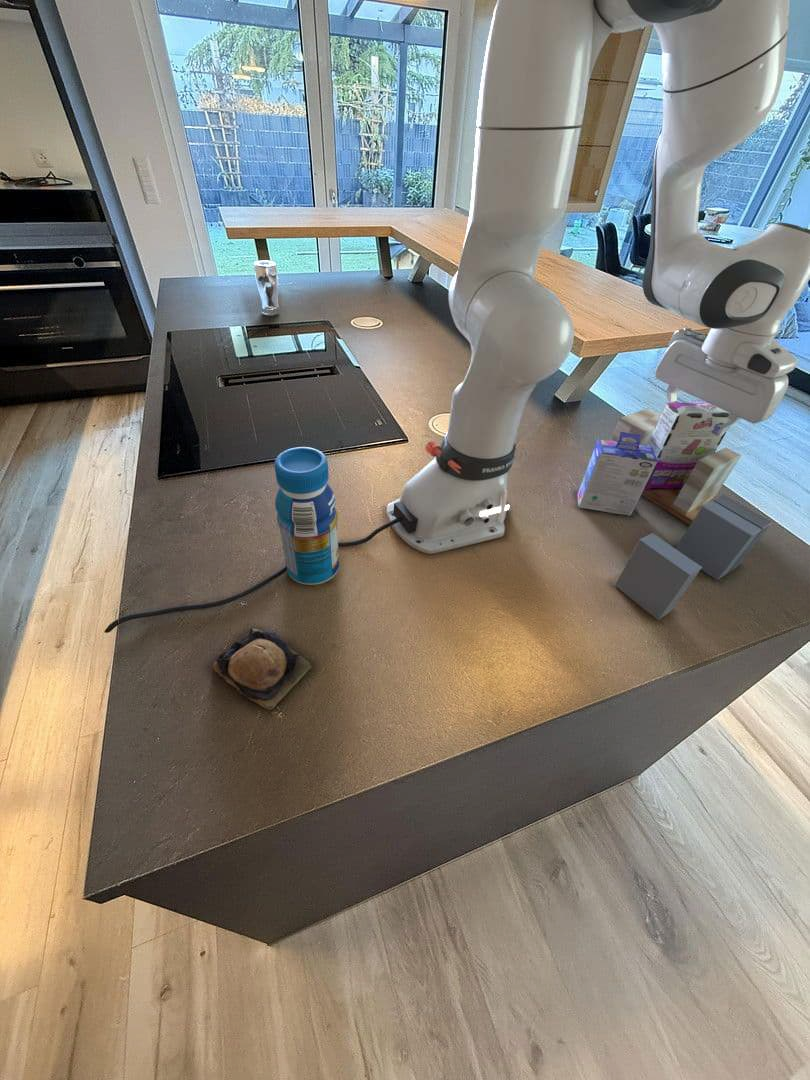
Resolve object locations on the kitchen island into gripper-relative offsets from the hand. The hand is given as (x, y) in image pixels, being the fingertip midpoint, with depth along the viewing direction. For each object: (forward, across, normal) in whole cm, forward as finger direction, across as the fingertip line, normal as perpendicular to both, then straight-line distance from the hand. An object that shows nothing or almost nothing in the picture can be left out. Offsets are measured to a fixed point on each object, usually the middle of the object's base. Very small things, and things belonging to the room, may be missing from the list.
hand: (692, 422), depth 84 cm
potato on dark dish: (+17, -1, -82) cm, 84 cm away
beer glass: (+17, -130, -32) cm, 135 cm away
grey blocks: (+15, +17, -19) cm, 30 cm away
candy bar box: (+14, 0, +1) cm, 14 cm away
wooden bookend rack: (+15, 0, +1) cm, 15 cm away
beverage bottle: (+16, -14, -69) cm, 73 cm away
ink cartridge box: (+15, -2, -14) cm, 21 cm away
